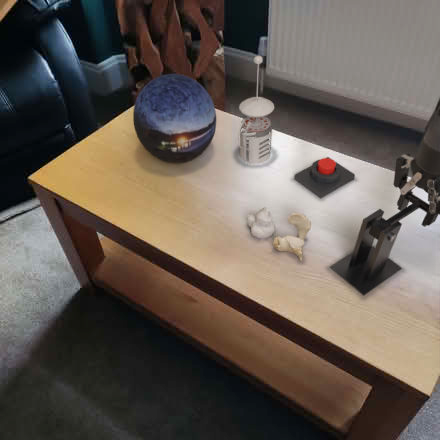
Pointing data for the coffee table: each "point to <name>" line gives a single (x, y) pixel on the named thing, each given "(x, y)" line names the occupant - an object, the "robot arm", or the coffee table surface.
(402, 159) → the robot arm
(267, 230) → the white lumpy piece
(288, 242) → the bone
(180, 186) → the coffee table surface
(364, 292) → the bracket
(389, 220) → the lever
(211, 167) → the coffee table surface
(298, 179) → the control block
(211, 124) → the decorative sphere
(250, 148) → the french press
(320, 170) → the button
